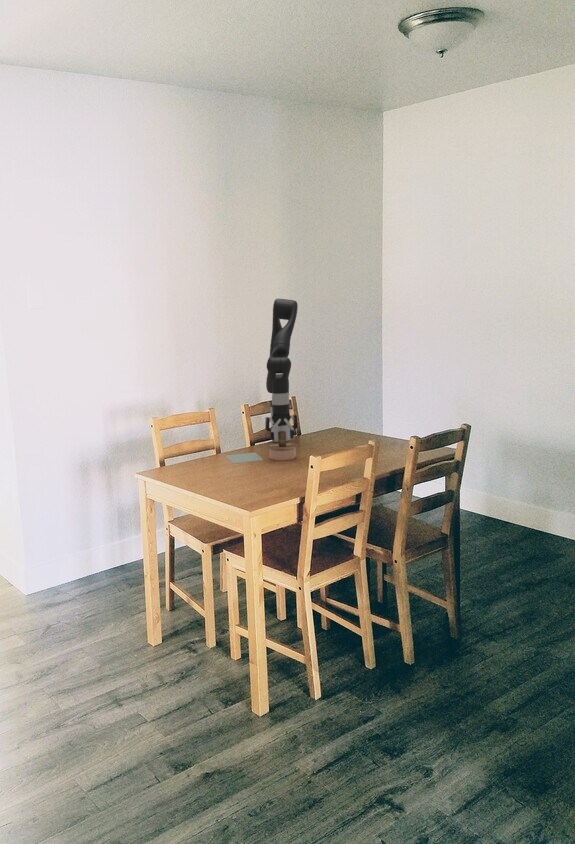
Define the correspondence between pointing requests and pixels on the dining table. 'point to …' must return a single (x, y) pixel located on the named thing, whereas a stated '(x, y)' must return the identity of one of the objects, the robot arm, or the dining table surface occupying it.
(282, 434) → the lid
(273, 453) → the bowl
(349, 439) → the dining table surface
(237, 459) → the mat
